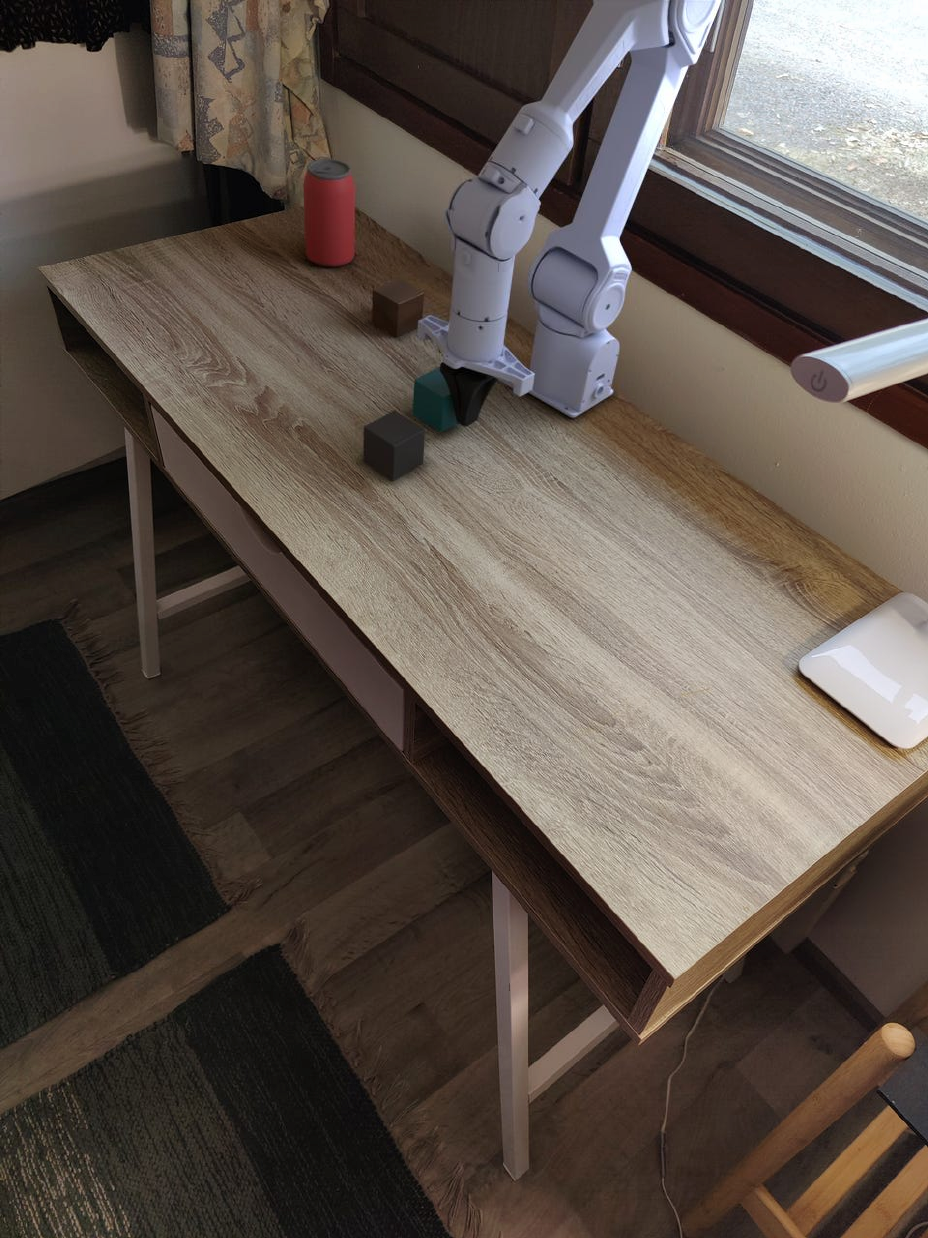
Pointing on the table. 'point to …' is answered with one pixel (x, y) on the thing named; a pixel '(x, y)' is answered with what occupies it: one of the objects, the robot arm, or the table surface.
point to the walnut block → (397, 307)
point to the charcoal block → (393, 445)
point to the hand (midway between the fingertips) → (466, 420)
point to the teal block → (433, 401)
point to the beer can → (329, 213)
